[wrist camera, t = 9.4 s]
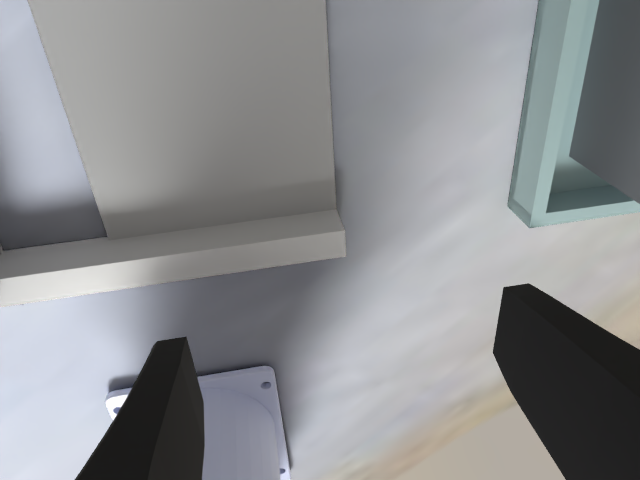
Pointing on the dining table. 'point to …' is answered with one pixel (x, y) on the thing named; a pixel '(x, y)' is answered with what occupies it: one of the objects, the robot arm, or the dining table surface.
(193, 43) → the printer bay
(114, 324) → the dining table surface
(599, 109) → the grey rectangular block
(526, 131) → the tray
